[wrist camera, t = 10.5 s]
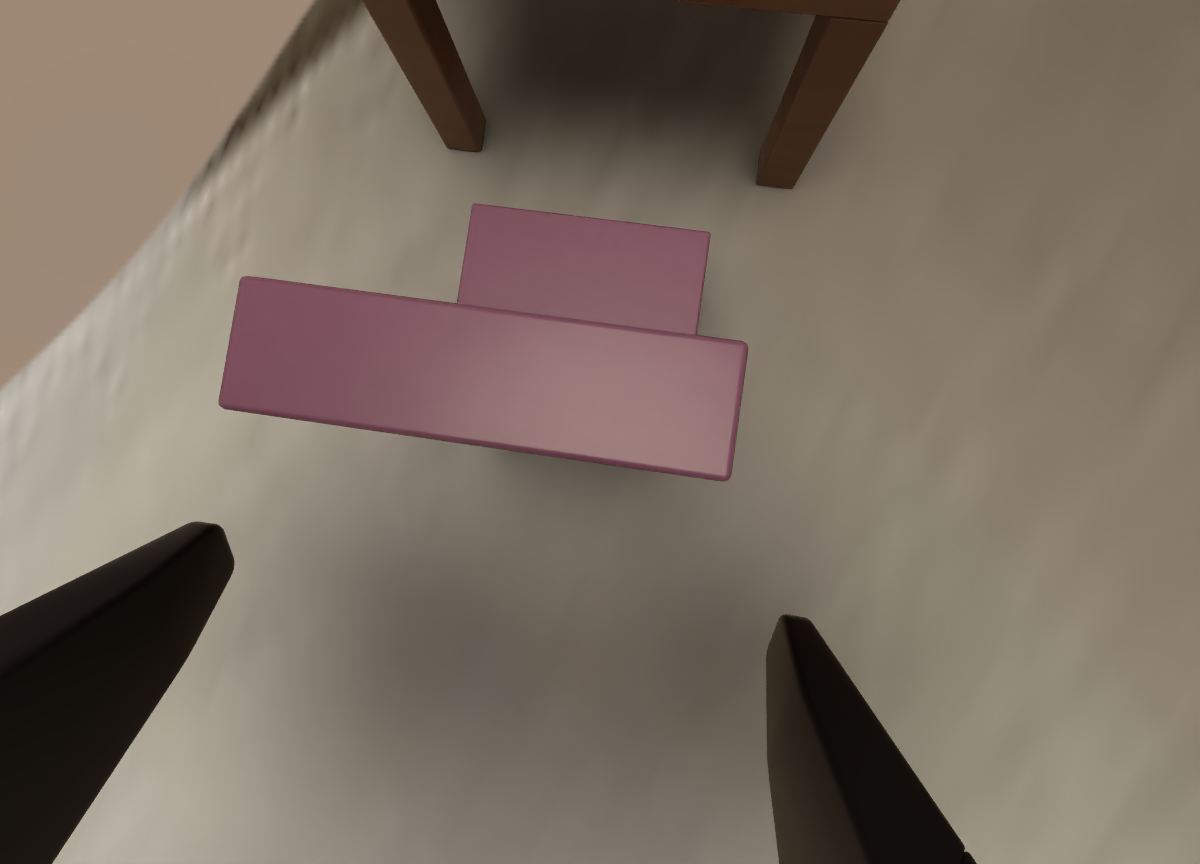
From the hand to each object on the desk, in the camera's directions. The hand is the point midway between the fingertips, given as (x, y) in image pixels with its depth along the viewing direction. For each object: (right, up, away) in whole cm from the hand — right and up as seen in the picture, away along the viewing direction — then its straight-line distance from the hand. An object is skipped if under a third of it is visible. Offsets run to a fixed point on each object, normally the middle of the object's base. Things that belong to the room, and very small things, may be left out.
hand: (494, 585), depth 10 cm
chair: (+1, +4, +10) cm, 11 cm away
